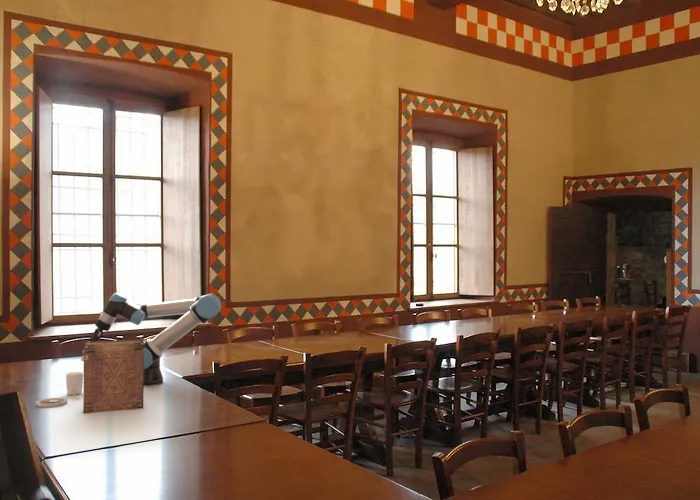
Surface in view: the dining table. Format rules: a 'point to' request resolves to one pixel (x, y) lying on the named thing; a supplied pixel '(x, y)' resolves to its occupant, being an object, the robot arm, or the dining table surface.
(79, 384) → the white cup
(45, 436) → the dining table surface
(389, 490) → the dining table surface
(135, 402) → the book
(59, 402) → the beige saucer
